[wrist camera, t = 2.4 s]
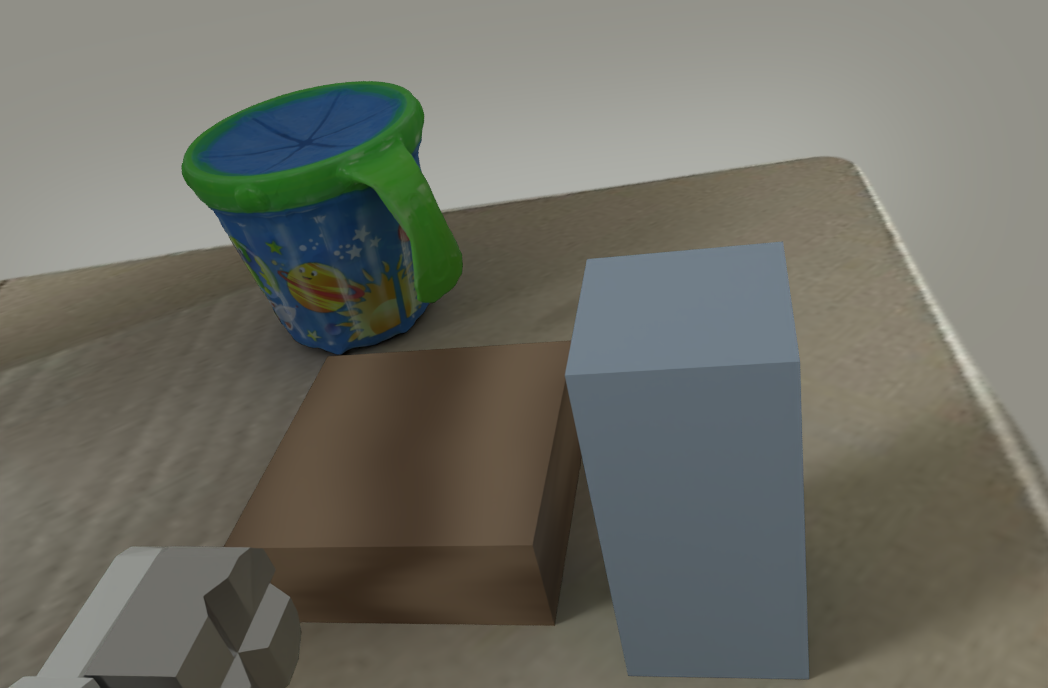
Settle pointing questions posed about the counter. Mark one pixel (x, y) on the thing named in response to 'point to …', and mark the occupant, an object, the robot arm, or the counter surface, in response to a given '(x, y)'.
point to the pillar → (696, 458)
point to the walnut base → (424, 489)
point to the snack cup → (330, 210)
